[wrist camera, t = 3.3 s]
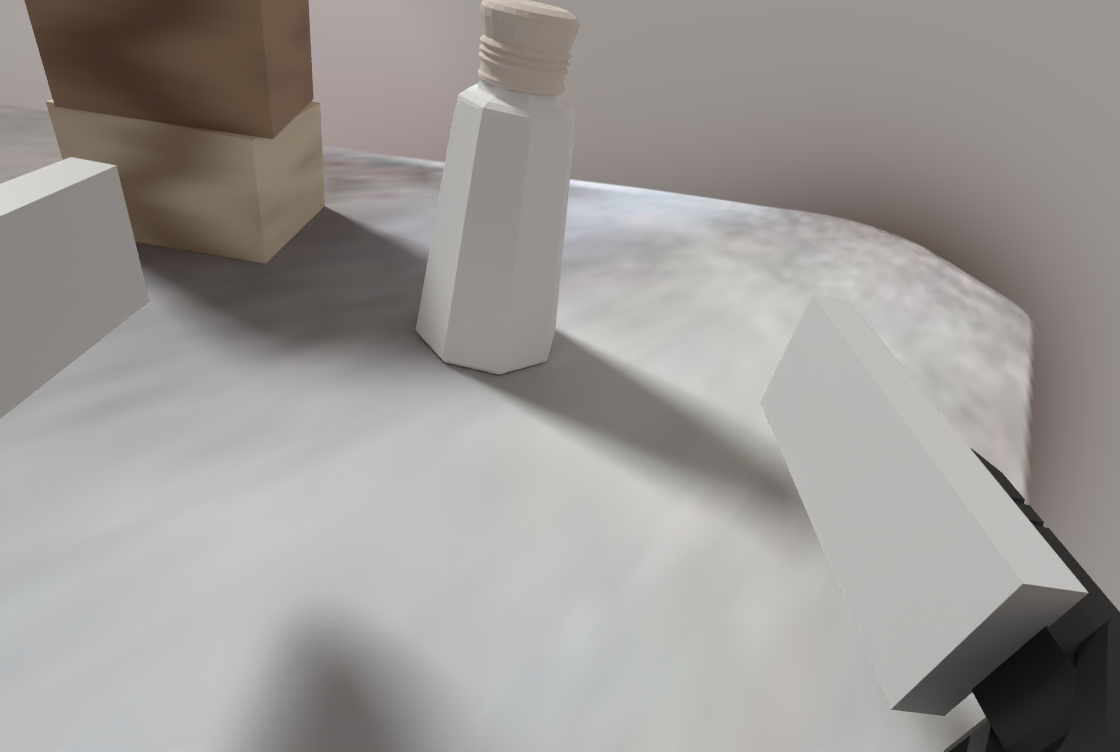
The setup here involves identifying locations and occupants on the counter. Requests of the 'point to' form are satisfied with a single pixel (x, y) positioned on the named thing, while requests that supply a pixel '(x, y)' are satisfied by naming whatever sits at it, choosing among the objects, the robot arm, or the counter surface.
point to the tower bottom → (205, 179)
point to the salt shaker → (504, 197)
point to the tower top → (179, 60)
